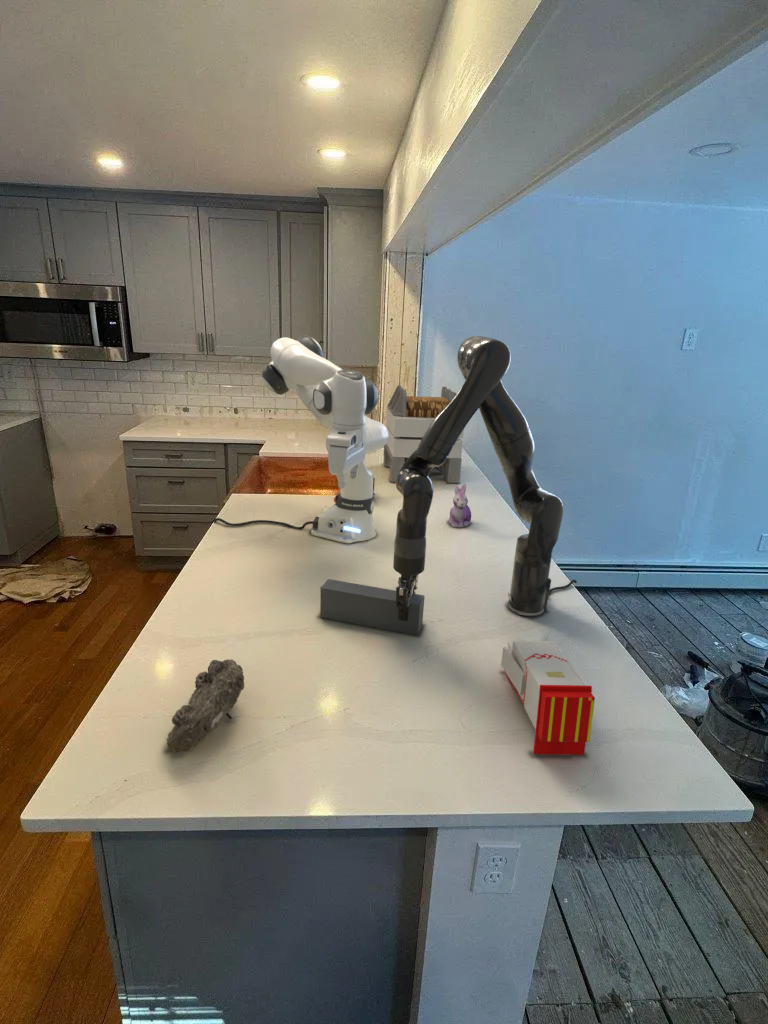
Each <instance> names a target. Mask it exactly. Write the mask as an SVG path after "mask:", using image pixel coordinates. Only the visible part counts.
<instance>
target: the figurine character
mask: <svg viewBox="0 0 768 1024" xmlns="http://www.w3.org/2000/svg"><path fill="white" fill-rule="evenodd" d="M375 481H376V479H375V477H373V496H374V497H375V495H376V494H375Z"/></svg>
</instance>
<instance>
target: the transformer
mask: <svg viewBox="0 0 768 1024" xmlns="http://www.w3.org/2000/svg"><path fill="white" fill-rule="evenodd" d="M440 393H441V394H440V396H415V395H414V396H413V395H412V396H411V395H407V394H408V393H407V390H406V389H404V388H403V387H402V385H399V384H398V385H397V386H396V388H395V390H394V392H393V394H392V395H391V398H390V400H389V402H388V404H387V405H386V413H385V414H386V415H385V423H386V425H385V427H386V429H387V431H388V441H387V443H386V445H385V446H384V447H383V466H384V467H388V468H389V475H388V476H389V477H388V478H389V480H390V482H391V483H396V477H397V474H398V472H399V470H400V468H401V467H402V466H403V464H404V463H405V462H406V460H407V459H408V458H409V457H410V456H411V454H412V453H413V452H414V451H415V450H416V449H417V448H418V446H419V444H420V442H421V440H422V438H423V436H424V434H425V433H426V431H427V429H428V427H429V426H430V424H431V423H432V421H433V420H434V419H435V417H436V416H437V415H438V414H439V413H440V412H441V411H442V410H443V409H444V408H445V407H446V406H447V405H448V404H449V403H450V402H451V401H452V400H453V399H454V397H455V396H456V395H457V392H455V391H453V390H452V389H451V388H447V386H442V387H441V392H440ZM464 431H465V429H464V430H463V431H462V433H461V434H460V436H459V438H458V439H457V441H456V443H455V445H454V447H453V448H452V450H451V452H450V454H449V455H448V456H447V459H446V460H445V462H444V463H443V464H442V465H441V466H439V467H436V468H437V470H438V469H439V473H440V474H441V475H443V478H444V479H445V481H446V482H447V483H449V484H455V483H456V484H459V483H461V472H462V461H463V460H462V453H463V442H464V441H463V440H462V439H463V438H464Z"/></svg>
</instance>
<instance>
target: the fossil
mask: <svg viewBox="0 0 768 1024" xmlns="http://www.w3.org/2000/svg"><path fill="white" fill-rule="evenodd" d="M243 670H244V669H243V667H242V665H240V664H237V662H236V661H235V660H234V659H232V658H231V659H227V658H226V659H224V660H223V661H222V660H217V659H212V660H211V661H210V663H209V665H208V666H207V671H201V672H199V673H198V674H197V675H196V676H195V680H194V684H195V685H194V687H195V689H194V690H193V693H192V694H191V697H190V698H189V700H188V704H184V705H182V706H181V707H180V709H177V710H176V711H175V713H174V715H173V716H172V718H171V723H172V724H173V727H172V730H171V731H170V732H168V734H167V738H166V741H167V742H166V745H167V749H168V750H169V751H173V752H174V753H176V754H178V753H182V752H188V751H189V752H192V751H193V750H195V748H196V747H197V746H199V744H200V743H201V742H203V741H204V740H205V739H206V738H207V737H208V736H209V735H210V734H211V733H212V732H214V730H215V729H217V727H218V726H219V724H220V722H221V721H222V720H223V719H224V718H225V716H226V717H227V719H229V720H233V717H232V715H230V714H229V710H230V709H231V708H234V706H235V704H236V703H237V702H238V699H239V697H240V695H241V693H242V691H243V690H245V689H244V688H245V675H244V671H243Z"/></svg>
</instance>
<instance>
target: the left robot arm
mask: <svg viewBox="0 0 768 1024" xmlns="http://www.w3.org/2000/svg"><path fill="white" fill-rule="evenodd" d="M269 353H270V359H271V361H270V362H269V363H268V364H266V366H264V368H263V370H262V372H261V377H262V381H263V383H264V384H265V386H266V388H267V389H268V390H270V391H271V392H273V393H275V394H276V395H280V396H281V395H284V394H286V393H288V392H289V391H290V390H291V389H292V388H294V387H295V392H296V394H297V396H298V397H299V399H300V401H301V402H302V404H303V405H304V406H305V407H306V409H307V410H308V411H309V412H310V413H311V415H313V417H314V418H315V419H316V420H317V421H318V422H319V423H320V424H321V426H323V428H325V429H327V430H330V432H329V433H328V434H327V436H326V438H325V447H326V451H327V456H328V457H327V459H328V460H327V461H328V471H329V473H330V475H332V476H335V477H336V479H337V487H338V489H340V490H339V491H338V492H337V494H336V495H335V496H334V497H333V502H334V504H333V505H331V506H329V507H328V508H326V509H325V510H323V512H321V514H320V515H319V516H315V517H314V519H313V520H310V521H306V522H304V523H303V524H302V525H301V526H294V525H292V524H290V523H287V522H282V521H274V520H270V519H269V520H268V519H256V520H249V521H244V522H238V523H237V522H235V523H233V522H232V523H231V522H228V521H226V520H224V519H222V518H221V517H217V518H213V519H212V521H211V523H216V522H221V523H222V524H224V525H227V526H230V527H241V526H247V525H251V524H259V523H260V524H261V523H262V524H274V525H280V526H285V527H287V528H291V529H294V530H303V529H305V527H306V526H308V525H312V528H311V530H310V533H311V536H315V537H319V538H323V539H326V540H330V541H336V542H339V543H343V544H352V543H357V542H365V541H368V540H372V539H373V538H375V537H376V535H377V532H376V528H375V523H374V513H373V512H374V509H375V495H374V496H373V478H374V473H373V471H372V470H371V469H369V468H368V467H367V464H366V456H367V455H370V454H374V453H376V452H378V451H380V450H381V449H383V448H384V446H385V445H386V443H387V441H388V431H387V429H386V425H385V424H384V423H382V422H380V421H378V420H375V419H372V418H371V417H368V416H367V415H369V414H371V413H372V411H373V410H374V409H375V408H376V406H377V404H378V402H379V392H378V388H377V387H376V385H375V384H374V382H373V381H372V380H371V379H370V378H368V377H365V375H364V374H363V373H361V372H360V371H358V370H352V369H346V368H344V367H342V366H341V365H339V364H337V363H334V362H333V361H331V360H328V359H327V358H325V357H324V352H323V349H322V347H321V345H320V343H319V342H318V341H317V340H316V339H315V338H313V337H311V336H310V335H308V334H307V335H306V334H304V335H302V336H300V337H297V338H296V340H295V339H293V338H290V337H286V336H285V337H280V338H278V339H276V340H275V341H274V342H273V343H272V344H271V347H270V351H269Z"/></svg>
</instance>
